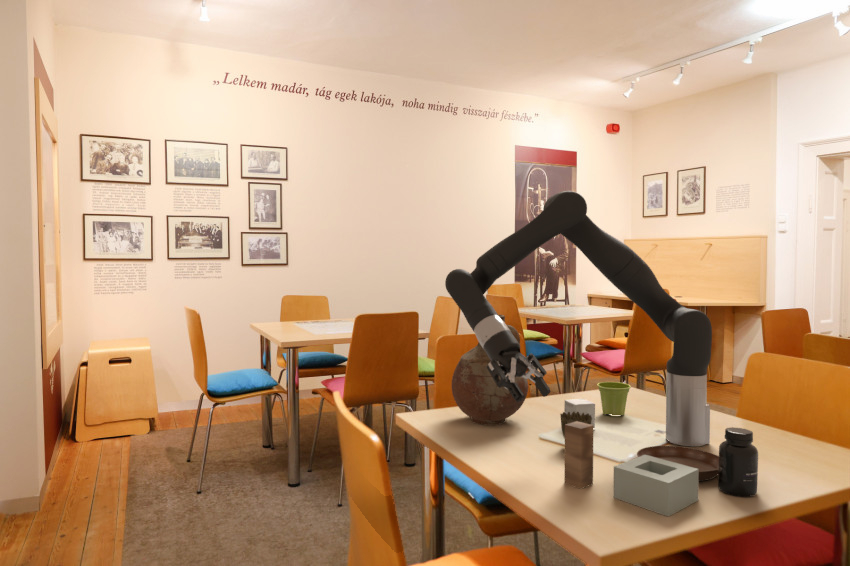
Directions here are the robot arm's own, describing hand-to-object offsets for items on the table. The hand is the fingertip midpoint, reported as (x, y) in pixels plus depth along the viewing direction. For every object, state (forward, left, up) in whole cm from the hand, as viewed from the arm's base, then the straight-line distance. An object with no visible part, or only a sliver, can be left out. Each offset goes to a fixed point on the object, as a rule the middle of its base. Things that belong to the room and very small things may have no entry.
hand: (534, 397), depth 129 cm
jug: (-1, -39, -16) cm, 42 cm away
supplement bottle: (-35, +19, -16) cm, 43 cm away
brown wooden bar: (-6, +10, -16) cm, 19 cm away
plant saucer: (-31, +6, -16) cm, 35 cm away
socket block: (-17, +20, -16) cm, 30 cm away
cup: (-15, -12, -16) cm, 25 cm away
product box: (-23, -28, -16) cm, 39 cm away
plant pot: (-39, -40, -16) cm, 58 cm away
